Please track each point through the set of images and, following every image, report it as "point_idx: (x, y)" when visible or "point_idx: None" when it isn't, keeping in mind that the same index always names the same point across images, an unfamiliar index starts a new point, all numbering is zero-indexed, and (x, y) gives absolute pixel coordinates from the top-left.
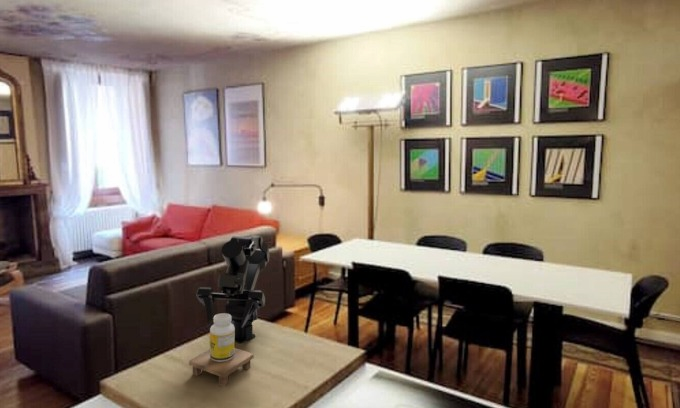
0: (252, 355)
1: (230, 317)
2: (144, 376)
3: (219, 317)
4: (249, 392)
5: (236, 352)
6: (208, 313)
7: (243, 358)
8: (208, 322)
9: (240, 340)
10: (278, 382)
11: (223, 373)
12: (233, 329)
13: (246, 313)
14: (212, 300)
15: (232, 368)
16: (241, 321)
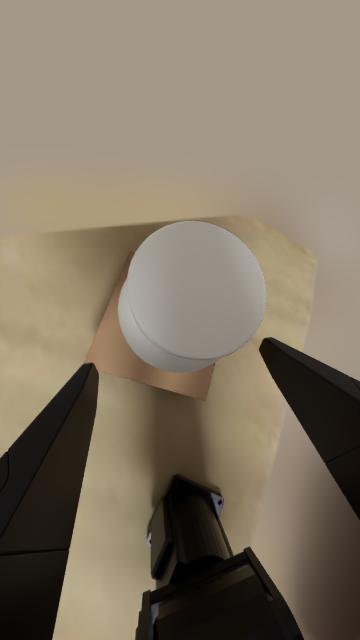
0: (86, 360)
1: (128, 281)
2: (285, 281)
3: (216, 265)
4: (74, 262)
5: (138, 360)
6: (325, 371)
7: (105, 332)
8: (272, 340)
9: (177, 486)
10: (12, 310)
11: (131, 252)
12: (118, 304)
13: (9, 457)
14: None
15: (118, 279)
16: (84, 383)
